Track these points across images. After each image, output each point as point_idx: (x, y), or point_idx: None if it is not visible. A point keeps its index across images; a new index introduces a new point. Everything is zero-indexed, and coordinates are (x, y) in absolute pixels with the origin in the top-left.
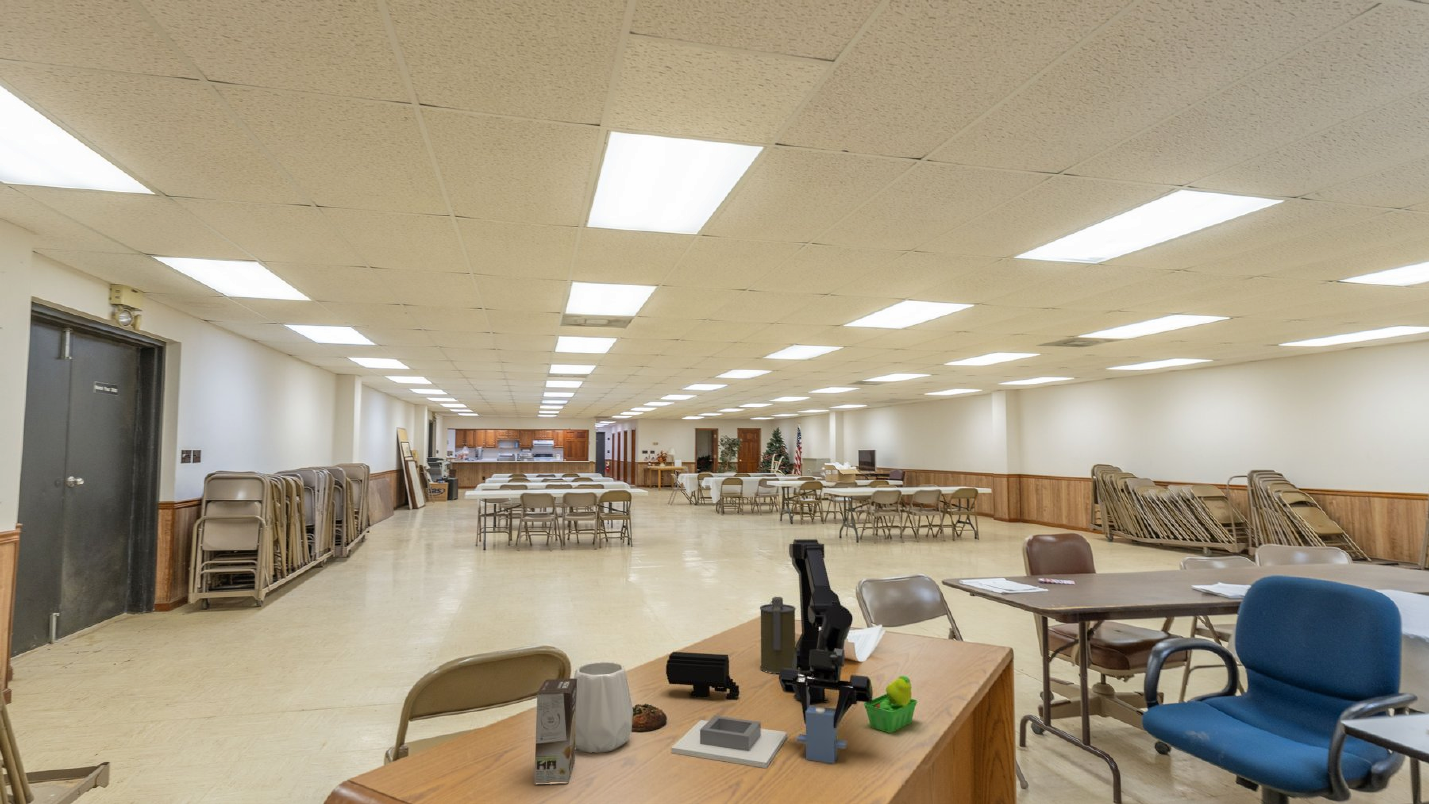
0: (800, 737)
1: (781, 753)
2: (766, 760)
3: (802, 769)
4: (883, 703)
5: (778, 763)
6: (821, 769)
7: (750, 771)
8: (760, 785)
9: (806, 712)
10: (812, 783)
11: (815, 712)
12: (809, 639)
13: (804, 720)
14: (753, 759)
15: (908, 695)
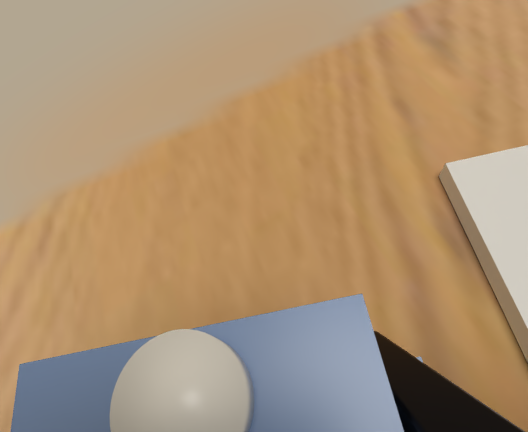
0: None
1: (494, 358)
2: (461, 182)
3: (303, 247)
4: None
5: (426, 242)
6: (231, 292)
7: (470, 124)
8: (369, 72)
9: (349, 299)
10: (222, 169)
11: (244, 349)
12: None
13: (374, 331)
14: (516, 158)
15: None
